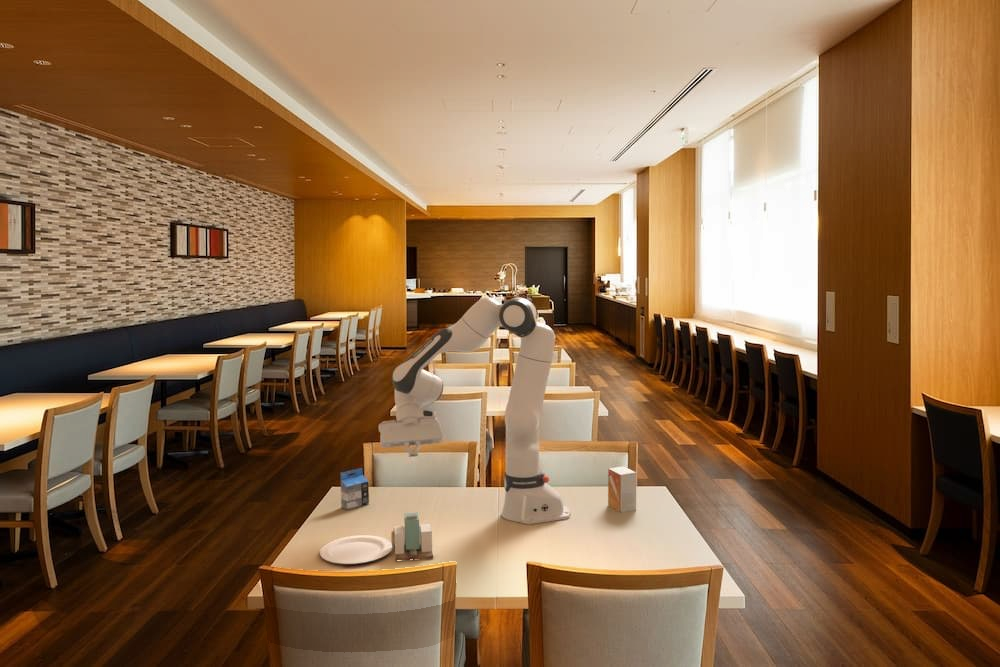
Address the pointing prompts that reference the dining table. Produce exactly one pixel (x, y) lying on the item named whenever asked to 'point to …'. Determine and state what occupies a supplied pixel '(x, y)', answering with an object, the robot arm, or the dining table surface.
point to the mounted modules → (424, 538)
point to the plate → (355, 550)
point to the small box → (622, 489)
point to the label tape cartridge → (354, 489)
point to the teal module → (411, 531)
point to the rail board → (413, 552)
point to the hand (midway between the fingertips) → (413, 455)
